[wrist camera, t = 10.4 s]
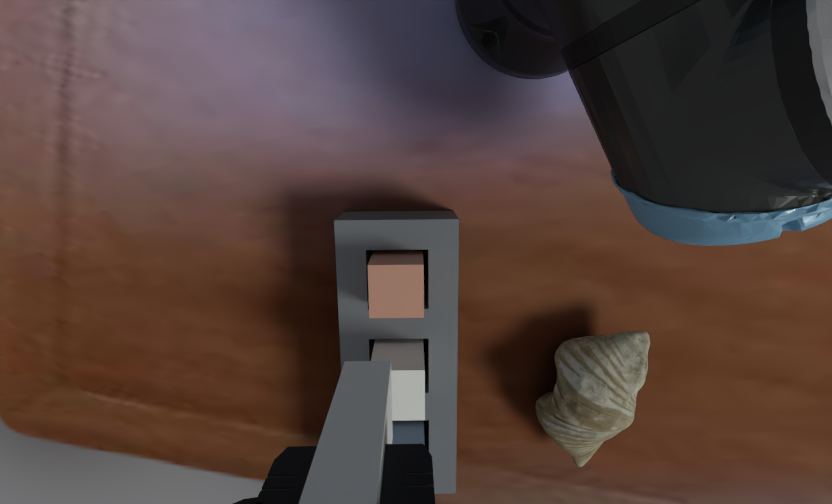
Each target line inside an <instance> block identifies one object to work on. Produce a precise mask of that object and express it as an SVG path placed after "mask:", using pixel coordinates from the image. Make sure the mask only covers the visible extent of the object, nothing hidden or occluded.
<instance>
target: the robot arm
mask: <svg viewBox="0 0 832 504" xmlns="http://www.w3.org/2000/svg"><path fill="white" fill-rule="evenodd" d="M455 5H456V12H457V16H458V20H459V23H460V26H461V28H462V31H463V33H464V35H465V37H466V39H467V41H468V42H469V44H470V45H471V47H472V48H473V49H474V51H475V52H476V53H477V54H478V55H479V56H480V57H481V58H482V59H483V60H484V61H485V62H486V63H488V64H489V65H490V66H492V67H493V68H495V69H497V70H499V71H501V72H503V73H505V74H508V75H511V76H514V77H518V78H525V79H541V78H548V77H552V76H556V75H559V74H562V73H564V72H566V71H569V70H570V71H569V74H570V76H571V78H572V80H573V83H574V85H575V87H576V89H577V92H578V94H579V96H580V98H581V101H582V103H583V105H584V107H585V110H586V112H587V114H588V116H589V119H590V121H591V123H592V125H593V128H594V130H595V132H596V134H597V137H598V139H599V141H600V143H601V146H602V148H603V150H604V152H605V154H606V157H607V159H608V161H609V163H610V166H611V168H612V169H611V176H612V180H613V182H614V184H615V186H616V187H617V188H618V189H619V190H620V192H621V193H622V194H623V195H624V197H625V199H626V201H627V203H628V205H629V207H630V209H631V211H632V213H633V215H634V216H635V218H636V219H637V221H638V222H639V223H641V225H643V226H644V227H645V228H646V229H647V230H648V231H650V232H651V233H653V234H655V235H657V236H659V237H662V238H664V239H667V240H670V241H674V242H679V243H685V244H693V245H736V244H746V243H753V242H759V241H764V240H769V239H774V238H778V237H779V236H780V234H781V232H782V231H786V230H794V231H803V230H806V229H809V228H811V227H814V226H816V225H819V224H821V223H823V222H825V221H827V220H829V219H831V218H832V0H455ZM392 440H393V424H392V379H391V361H345V362H344V365H343V368H342V371H341V375H340V378H339V381H338V384H337V387H336V390H335V393H334V396H333V399H332V402H331V405H330V409H329V412H328V415H327V418H326V421H325V424H324V427H323V430H322V433H321V436H320V439H319V442H318V446H299V447H287V448H286V449H285V450H284V451H283V452H282V453H281V454H280V455H279V456H278V457H277V458H276V459H275V460H274V462H273V464H272V466H271V469H270V471H269V473H268V477H267V478H266V480H265V482H264V484H263V487H262V491H260V493H259V495H258V497H255V498H250V499H243V500H241V501H238V502H236V503H234V504H435V494H434V478H433V462H432V455H431V454H430V453H429V451H428V450H427V448H426V447H425V445H424V444H392Z"/></svg>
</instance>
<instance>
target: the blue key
mask: <svg viewBox="0 0 832 504" xmlns="http://www.w3.org/2000/svg"><path fill="white" fill-rule="evenodd" d="M392 424H393V440H392V444H424V445H425V442H424V420H412V421H392Z"/></svg>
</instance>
